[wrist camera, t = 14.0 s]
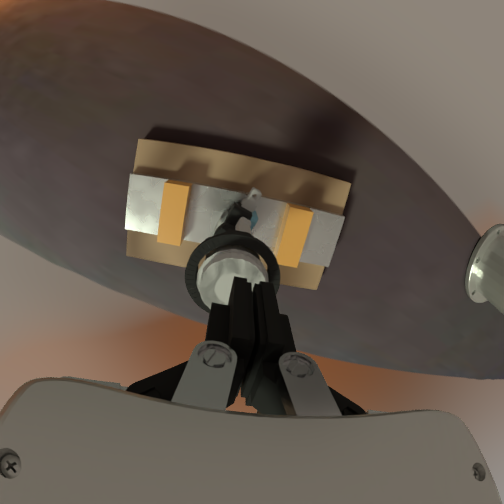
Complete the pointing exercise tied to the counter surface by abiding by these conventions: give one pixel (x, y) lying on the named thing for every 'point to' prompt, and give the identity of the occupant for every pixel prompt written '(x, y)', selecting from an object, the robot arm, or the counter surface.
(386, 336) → the counter surface
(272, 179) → the din panel
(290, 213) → the end stops
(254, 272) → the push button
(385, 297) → the counter surface
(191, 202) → the din rail
